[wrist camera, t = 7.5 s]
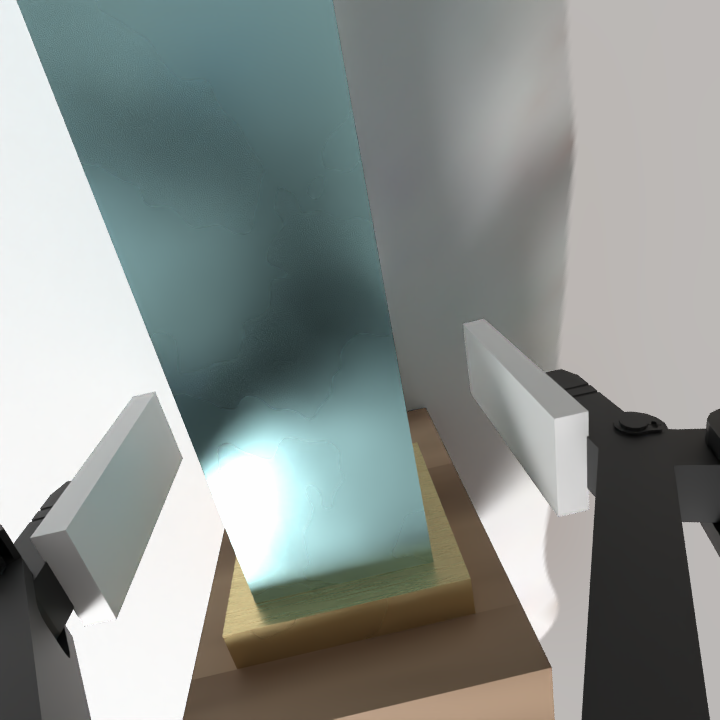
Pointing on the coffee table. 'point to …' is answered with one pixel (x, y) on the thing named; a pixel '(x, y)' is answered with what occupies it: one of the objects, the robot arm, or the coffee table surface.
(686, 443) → the robot arm
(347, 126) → the teal square bar
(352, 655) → the socket
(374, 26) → the coffee table surface
